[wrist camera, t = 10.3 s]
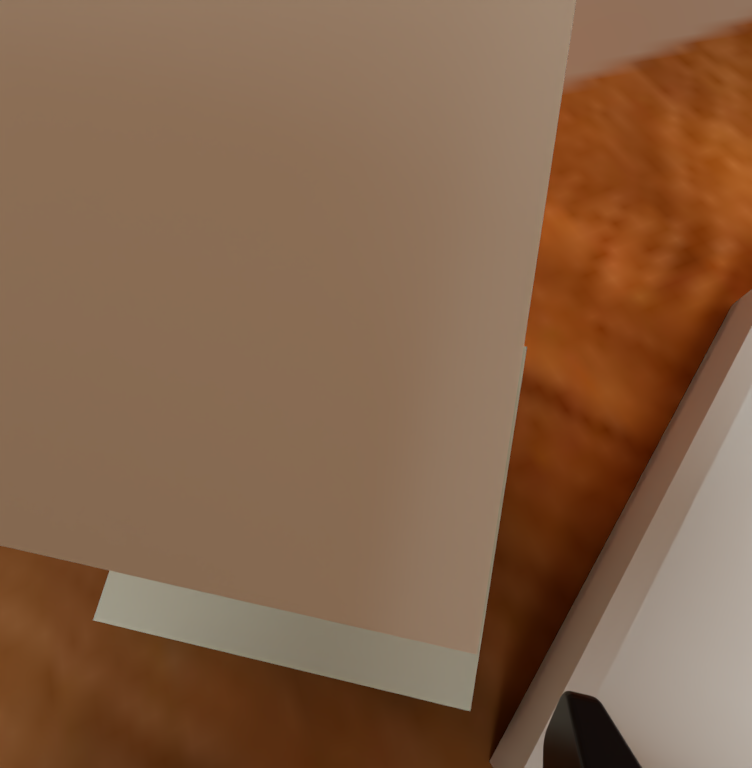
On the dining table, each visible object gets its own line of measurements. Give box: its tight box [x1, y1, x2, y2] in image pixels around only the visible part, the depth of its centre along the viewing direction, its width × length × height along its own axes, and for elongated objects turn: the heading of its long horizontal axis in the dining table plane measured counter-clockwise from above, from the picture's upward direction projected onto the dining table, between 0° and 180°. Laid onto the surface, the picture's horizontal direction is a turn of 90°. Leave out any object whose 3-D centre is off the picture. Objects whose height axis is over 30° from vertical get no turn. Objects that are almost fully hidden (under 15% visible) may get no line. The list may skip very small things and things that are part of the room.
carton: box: [0, 0, 576, 655], centre depth 10 cm, size 5×5×13 cm
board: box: [93, 346, 527, 711], centre depth 16 cm, size 9×9×1 cm
